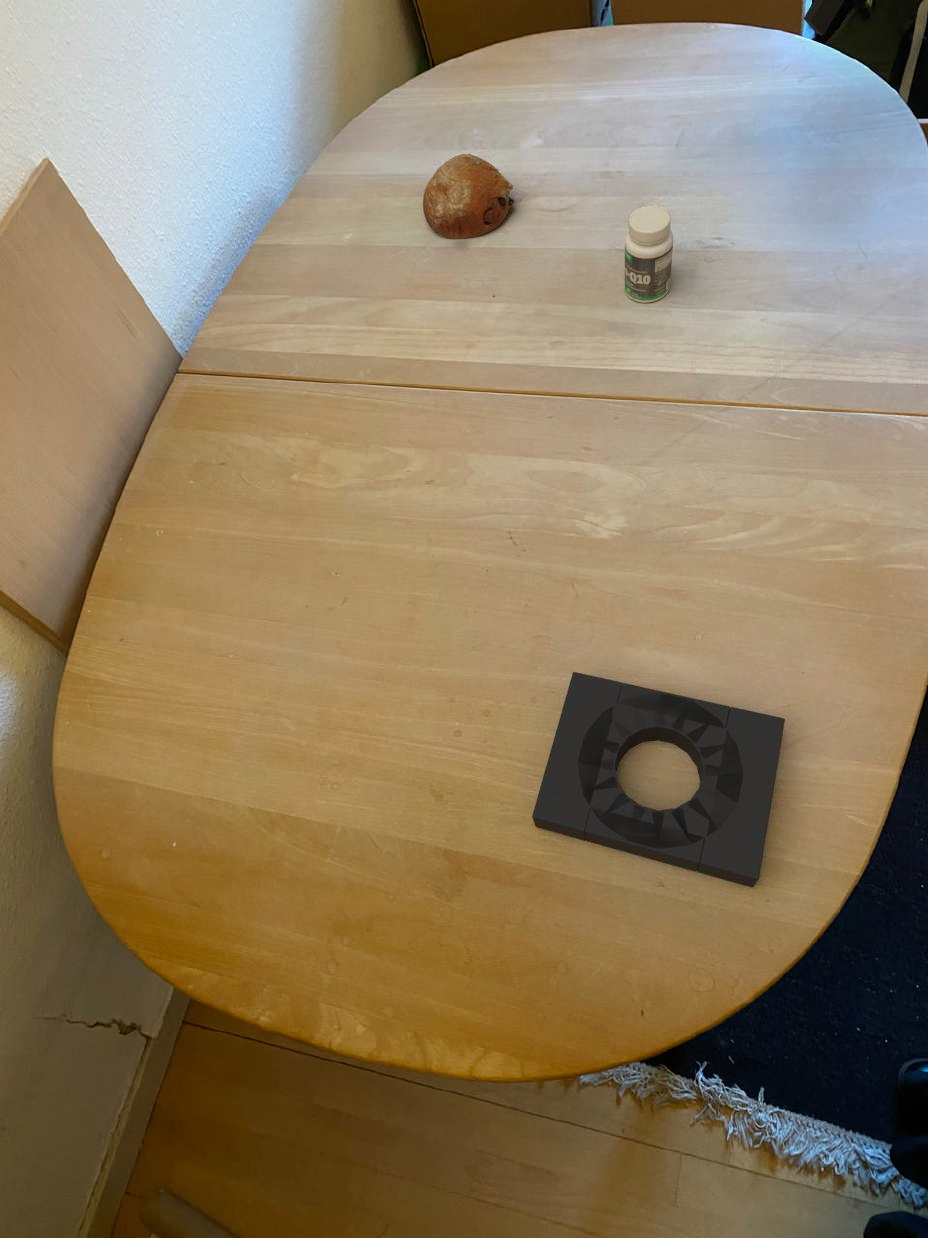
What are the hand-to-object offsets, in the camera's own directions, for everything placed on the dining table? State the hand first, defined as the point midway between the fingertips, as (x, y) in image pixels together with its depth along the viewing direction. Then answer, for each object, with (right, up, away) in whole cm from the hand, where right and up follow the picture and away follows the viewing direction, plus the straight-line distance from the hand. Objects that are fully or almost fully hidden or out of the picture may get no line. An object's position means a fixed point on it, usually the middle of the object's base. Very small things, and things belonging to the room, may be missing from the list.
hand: (749, 1), depth 70 cm
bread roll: (-23, -4, +29) cm, 37 cm away
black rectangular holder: (-9, -64, -6) cm, 65 cm away
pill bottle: (-5, -17, +18) cm, 25 cm away
